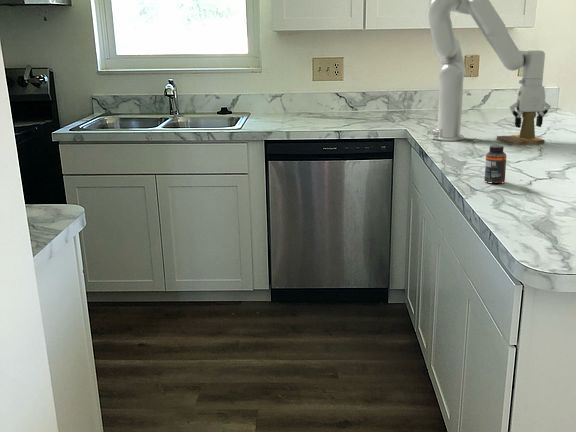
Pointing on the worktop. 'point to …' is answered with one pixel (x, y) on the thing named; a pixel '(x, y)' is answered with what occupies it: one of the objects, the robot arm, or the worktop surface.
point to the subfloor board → (519, 140)
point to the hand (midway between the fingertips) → (528, 126)
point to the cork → (528, 125)
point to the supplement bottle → (495, 164)
